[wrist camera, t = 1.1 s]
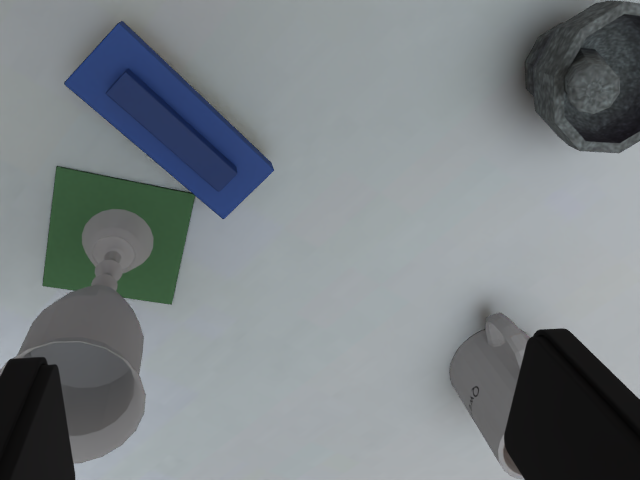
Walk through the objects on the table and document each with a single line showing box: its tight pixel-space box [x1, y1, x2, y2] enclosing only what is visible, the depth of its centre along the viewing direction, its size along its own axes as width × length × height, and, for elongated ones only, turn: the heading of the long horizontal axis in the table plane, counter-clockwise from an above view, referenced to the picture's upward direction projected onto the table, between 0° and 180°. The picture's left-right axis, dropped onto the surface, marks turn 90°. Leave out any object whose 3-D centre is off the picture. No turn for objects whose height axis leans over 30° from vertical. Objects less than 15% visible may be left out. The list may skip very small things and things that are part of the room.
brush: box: [64, 21, 274, 219], centre depth 38 cm, size 13×5×5 cm, turn 43°
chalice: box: [0, 209, 153, 464], centre depth 34 cm, size 7×7×18 cm
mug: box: [450, 313, 530, 480], centre depth 49 cm, size 12×9×10 cm
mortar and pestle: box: [525, 1, 640, 153], centre depth 38 cm, size 11×9×12 cm
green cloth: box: [43, 166, 195, 305], centre depth 43 cm, size 10×10×1 cm
